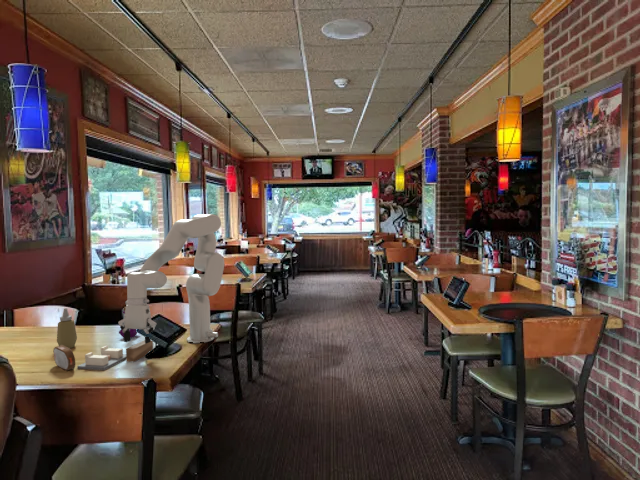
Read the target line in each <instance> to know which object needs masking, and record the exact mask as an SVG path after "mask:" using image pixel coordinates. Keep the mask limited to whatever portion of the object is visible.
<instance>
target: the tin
mask: <svg viewBox="0 0 640 480" xmlns="http://www.w3.org/2000/svg"><path fill="white" fill-rule="evenodd" d="M53 359H54V362H55V364H56V366H57V367H58V368H61V369H62V370H64V371H70V370H74V369H75V368H76V358H75V354H74V352H73V350H72V348H68V347H65V346H63V345H60V346H59V345H57V346H54V348H53Z"/></svg>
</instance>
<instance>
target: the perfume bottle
mask: <svg viewBox="0 0 640 480" xmlns="http://www.w3.org/2000/svg"><path fill="white" fill-rule="evenodd" d="M124 303H125V305H127V300H126V301H125V302H124ZM125 309H126V306H125V307H123V311H122V313H123V314H124V315H125ZM129 331H130V339H133V338H134V337H136V336H137V334H138V333H137V332H136V329H130V330H129ZM118 334H119V335H120V336H121V337H123V339H124V333H123V332H122V329H121V328H120V330H119V331H118ZM135 335H136V336H135ZM132 337H133V338H132Z"/></svg>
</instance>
